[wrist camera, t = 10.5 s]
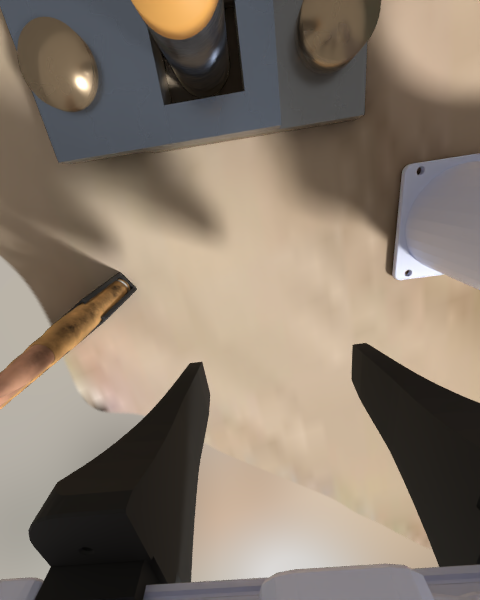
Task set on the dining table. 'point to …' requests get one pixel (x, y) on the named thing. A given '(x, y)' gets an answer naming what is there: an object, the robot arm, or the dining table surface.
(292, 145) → the dining table surface
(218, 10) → the pin
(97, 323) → the ammunition clip
